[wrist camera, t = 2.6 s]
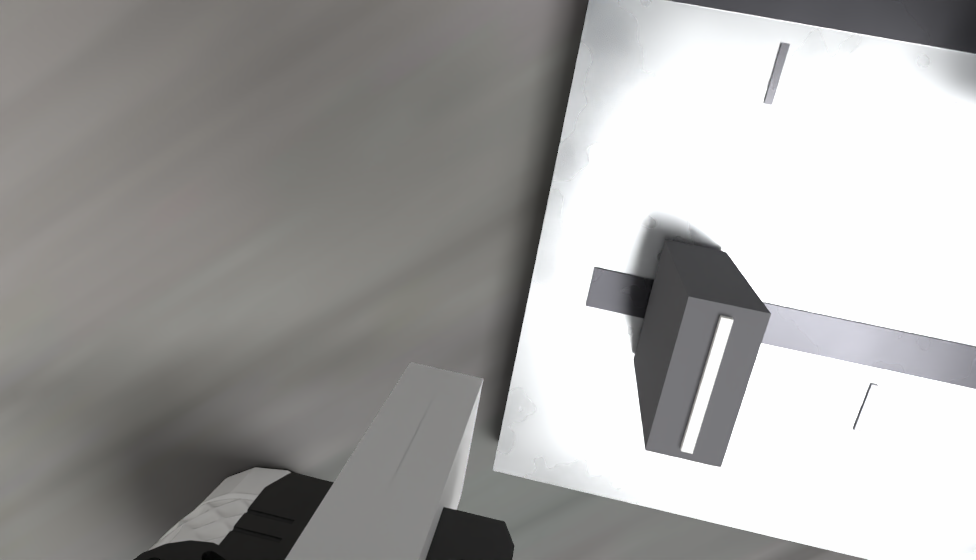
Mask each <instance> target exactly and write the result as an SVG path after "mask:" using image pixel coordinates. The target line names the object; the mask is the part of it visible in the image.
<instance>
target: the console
mask: <svg viewBox="0 0 976 560" xmlns="http://www.w3.org/2000/svg"><path fill="white" fill-rule="evenodd" d="M665 239H667V240H672V241H677V242H682V243H687V244H692V245H696V246H701V247H706V248H711V249H716V250H721V251H726V252H727V253H728V255H729V256H730V257H731V259H732V260H733V261H734V263H735V264H736V266H737V267H738V268H739V270H740V271H741V273H742V274H743V275H744V277H745V278H746V280H747V281H748V282H749V284H750V285H751V286H752V288H753V289H754V291H755V292H756V293H757V295H758V296H759V298H760V299H761V300H762V302H763V303H764V304H765V306H766V307H767V309H768V310H769V311H770V313H771V316H770V319H769V322H768V325H767V328H766V331H765V334H764V337H763V340H762V343H761V346H760V350H759V353H758V356H757V359H756V362H755V365H754V368H753V371H752V374H751V377H750V380H749V383H748V386H747V389H746V393H745V396H744V399H743V402H742V405H741V408H740V411H739V414H738V417H737V420H736V423H735V426H734V429H733V432H732V436H731V439H730V442H729V445H728V448H727V451H726V454H725V457H724V460H723V463H722V466H721V468H720V467H715V466H711V465H707V464H702V463H698V462H694V461H689V460H685V459H681V458H676V457H672V456H667V455H663V454H659V453H654V452H650V451H646V450H645V445H644V437H643V430H642V423H641V415H640V408H639V400H638V393H637V385H636V378H635V370H634V363H633V358H634V355H635V351H636V347H637V343H638V339H639V336H640V332H641V328H642V324H643V321H644V317H645V313H646V309H647V305H648V302H649V298H650V294H651V290H652V286H653V283H654V279H655V275H656V271H657V267H658V264H659V260H660V256H661V252H662V249H663V245H664V241H665ZM493 471H498V472H502V473H506V474H510V475H515V476H519V477H523V478H527V479H531V480H536V481H540V482H544V483H548V484H553V485H557V486H561V487H565V488H569V489H574V490H578V491H582V492H586V493H591V494H595V495H599V496H603V497H607V498H612V499H616V500H620V501H624V502H629V503H633V504H637V505H641V506H645V507H650V508H654V509H658V510H662V511H667V512H671V513H675V514H679V515H683V516H688V517H692V518H696V519H700V520H705V521H709V522H713V523H717V524H721V525H726V526H730V527H734V528H738V529H743V530H747V531H751V532H755V533H759V534H764V535H768V536H772V537H776V538H781V539H785V540H789V541H793V542H798V543H802V544H806V545H810V546H814V547H819V548H823V549H827V550H831V551H836V552H840V553H844V554H848V555H852V556H857V557H861V558H865V559H869V560H976V0H589V3H588V8H587V13H586V18H585V23H584V27H583V32H582V37H581V42H580V47H579V52H578V57H577V62H576V67H575V71H574V76H573V81H572V86H571V91H570V96H569V101H568V106H567V110H566V115H565V120H564V125H563V130H562V135H561V140H560V145H559V150H558V154H557V159H556V164H555V169H554V174H553V179H552V184H551V189H550V194H549V198H548V203H547V208H546V213H545V218H544V223H543V228H542V233H541V238H540V242H539V247H538V252H537V257H536V262H535V267H534V272H533V277H532V281H531V286H530V291H529V296H528V301H527V306H526V311H525V316H524V321H523V325H522V330H521V335H520V340H519V345H518V350H517V355H516V360H515V365H514V369H513V374H512V379H511V384H510V389H509V394H508V399H507V404H506V409H505V413H504V418H503V423H502V428H501V433H500V438H499V443H498V448H497V452H496V457H495V462H494V467H493Z"/></svg>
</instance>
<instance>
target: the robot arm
mask: <svg viewBox="0 0 976 560" xmlns="http://www.w3.org/2000/svg"><path fill="white" fill-rule="evenodd" d="M482 383H483V378H479V377H474V376H470V375H465V374H461V373H457V372H452V371H448V370H443V369H439V368H434V367H430V366H425V365H421V364H417V363H412V362H410V364H409V365H408V367H407V368H406V370H405V371H404V373H403V375H402V376H401V378H400V379H399V381H398V382H397V384H396V386H395V387H394V389H393V390H392V392H391V393H390V395H389V397H388V398H387V400H386V401H385V403H384V404H383V406H382V408H381V409H380V411H379V412H378V414H377V415H376V417H375V419H374V420H373V422H372V423H371V425H370V427H369V428H368V430H367V431H366V433H365V434H364V436H363V438H362V439H361V441H360V442H359V444H358V445H357V447H356V449H355V450H354V452H353V453H352V455H351V456H350V458H349V460H348V461H347V463H346V464H345V466H344V467H343V469H342V471H341V472H340V474H339V475H338V477H337V478H336V480H335V482H329V481H325V480H321V479H317V478H313V477H309V476H305V475H301V474H297V473H292V472H291V473H289V474H287V475H286V476H284V477H282V478H280V479H278V480H277V481H275V482H273V483H271V484H270V485H268V486H266V487H265V488H264V489H263V490H262V491H261V493H260V494H259V495H258V496H257V498H256V499H255V500H254V501H253V503H252V504H251V505H250V506H249V508H248V510H247V513H244V514H243V515H242V516H241V518H240V519H239V520H238V521H237V523H236V524H235V525H234V528H233V530H232V531H229V533H228V534H227V535H226V536H225V538H224V539H223V540H222V542H221V543H220V544H219V545H218V544H215V543H213V542H203V541H194V540H188V541H181V542H174V543H167V544H164V545H161V546H159V547H156V548H154V549H151V550H149V551H146V552H144V553H142V554H140V555H139V556H138V557H137V558H135V559H134V560H512V557H513V551H514V544H513V542H512V539H511V536H510V534H509V531H508V529H507V526H506V523H505V522H504V521H500V520H496V519H491V518H487V517H483V516H479V515H475V514H471V513H467V512H463V511H458V510H457V507H458V503H459V500H460V497H461V493H462V488H463V483H464V477H465V472H466V467H467V462H468V456H469V451H470V446H471V441H472V436H473V430H474V425H475V420H476V415H477V409H478V404H479V399H480V394H481V388H482Z"/></svg>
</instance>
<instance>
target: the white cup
mask: <svg viewBox="0 0 976 560" xmlns="http://www.w3.org/2000/svg"><path fill="white" fill-rule="evenodd" d="M289 473H291V472H290V471H288V470H279V469H268V468H258V467H255V468H252V469H249V470H246V471H243V472H241V473H238V474H235V475H233V476H230V477H227V478H226V479H225V480H224V481H223V482H222V483H221V484H220V485H219V486H218V487H217V488H216V489H215V490H214V491H213V492H212V493H211V494H210V495H209V496H208V497H207V498H206V499H205V500H204V501H203V502H202V503H201V504H200V505H199V506H198V507H197V508H196V509H195V510H194V511H193V512H191V513H190V514H188V515H187V516H186V517H184V518H183V519H181V520H180V521H179V522H178V523H177V524H176V525H174V526H173V527H172V528H171V529H170V530H169V531H168V532H167V533H166V534H165V535H164V536H163V537H162V538H161V539H160V540H159V541H158V542H156V543H155V545H154V546H152V547H151V548H150V549H149V550H151V549H154V548H156V547H159V546H161V545H164V544H167V543H174V542H181V541H188V540H194V541H203V542H213V543H215V544H218V545H219V544H220V543H221V542H222V540H223V539H224V538H225V536H226V535H227V534H228V533H229V531H232V530H233V528H234V525H235V524H236V523H237V521H238V520H239V519H240V518H241V516H242V515H243V514H244V513H247V510H248V508H249V506H250V505H251V504H252V503H253V501H254V500H255V499H256V498H257V496H258V495H259V494H260V493H261V491H262V490H263V489H264V488H265V487H266V486H268V485H270V484H271V483H273V482H275V481H277V480H278V479H280V478H282V477H284V476H286V475H287V474H289ZM149 550H148V551H149Z"/></svg>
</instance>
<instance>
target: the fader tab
mask: <svg viewBox="0 0 976 560" xmlns="http://www.w3.org/2000/svg"><path fill="white" fill-rule="evenodd" d="M770 316H771V313H770V311H769V310H768V309H767V307H766V306H765V304H764V303H763V302H762V300H761V299H760V298H759V296H758V295H757V293H756V292H755V291H754V289H753V288H752V286H751V285H750V284H749V282H748V281H747V280H746V278H745V277H744V275H743V274H742V273H741V271H740V270H739V268H738V267H737V266H736V264H735V263H734V261H733V260H732V259H731V257H730V256H729V255H728V253H727V252H726V251H721V250H716V249H711V248H706V247H701V246H696V245H692V244H687V243H682V242H677V241H672V240H667V239H665V241H664V245H663V249H662V252H661V256H660V260H659V264H658V267H657V271H656V275H655V279H654V283H653V286H652V290H651V294H650V298H649V302H648V305H647V309H646V313H645V317H644V321H643V324H642V328H641V332H640V336H639V339H638V343H637V347H636V351H635V355H634V358H633V363H634V370H635V378H636V385H637V393H638V400H639V408H640V415H641V423H642V430H643V437H644V445H645V450H646V451H650V452H654V453H659V454H663V455H667V456H672V457H676V458H681V459H685V460H689V461H694V462H698V463H702V464H707V465H711V466H715V467H720V468H721V466H722V463H723V460H724V457H725V454H726V451H727V448H728V445H729V442H730V439H731V436H732V432H733V429H734V426H735V423H736V420H737V417H738V414H739V411H740V408H741V405H742V402H743V399H744V396H745V393H746V389H747V386H748V383H749V380H750V377H751V374H752V371H753V368H754V365H755V362H756V359H757V356H758V353H759V350H760V346H761V343H762V340H763V337H764V334H765V331H766V328H767V325H768V322H769V319H770Z"/></svg>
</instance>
